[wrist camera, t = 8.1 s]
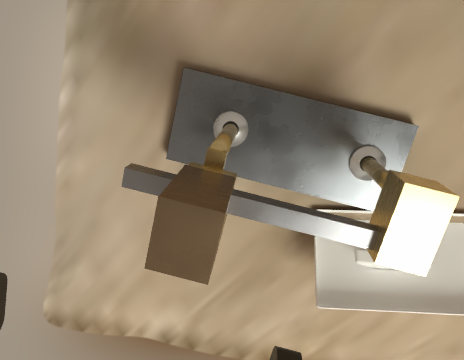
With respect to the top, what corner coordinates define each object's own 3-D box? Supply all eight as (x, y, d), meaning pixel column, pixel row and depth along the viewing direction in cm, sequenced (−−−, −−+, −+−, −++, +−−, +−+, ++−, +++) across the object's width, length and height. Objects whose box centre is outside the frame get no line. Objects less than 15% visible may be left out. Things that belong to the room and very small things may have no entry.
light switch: (311, 310, 36) (476, 319, 35) (318, 306, 32) (507, 315, 31) (309, 221, 40) (460, 226, 38) (315, 206, 35) (486, 211, 34)
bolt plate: (413, 124, 34) (420, 126, 32) (381, 209, 36) (386, 215, 34) (186, 67, 34) (182, 67, 33) (169, 155, 36) (165, 159, 35)
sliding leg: (249, 128, 33) (232, 185, 17) (235, 183, 34) (207, 284, 18) (214, 119, 33) (164, 167, 17) (202, 174, 34) (144, 268, 18)
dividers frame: (391, 151, 33) (459, 196, 21) (372, 206, 34) (425, 276, 23) (177, 97, 33) (128, 113, 22) (166, 154, 35) (115, 197, 23)
